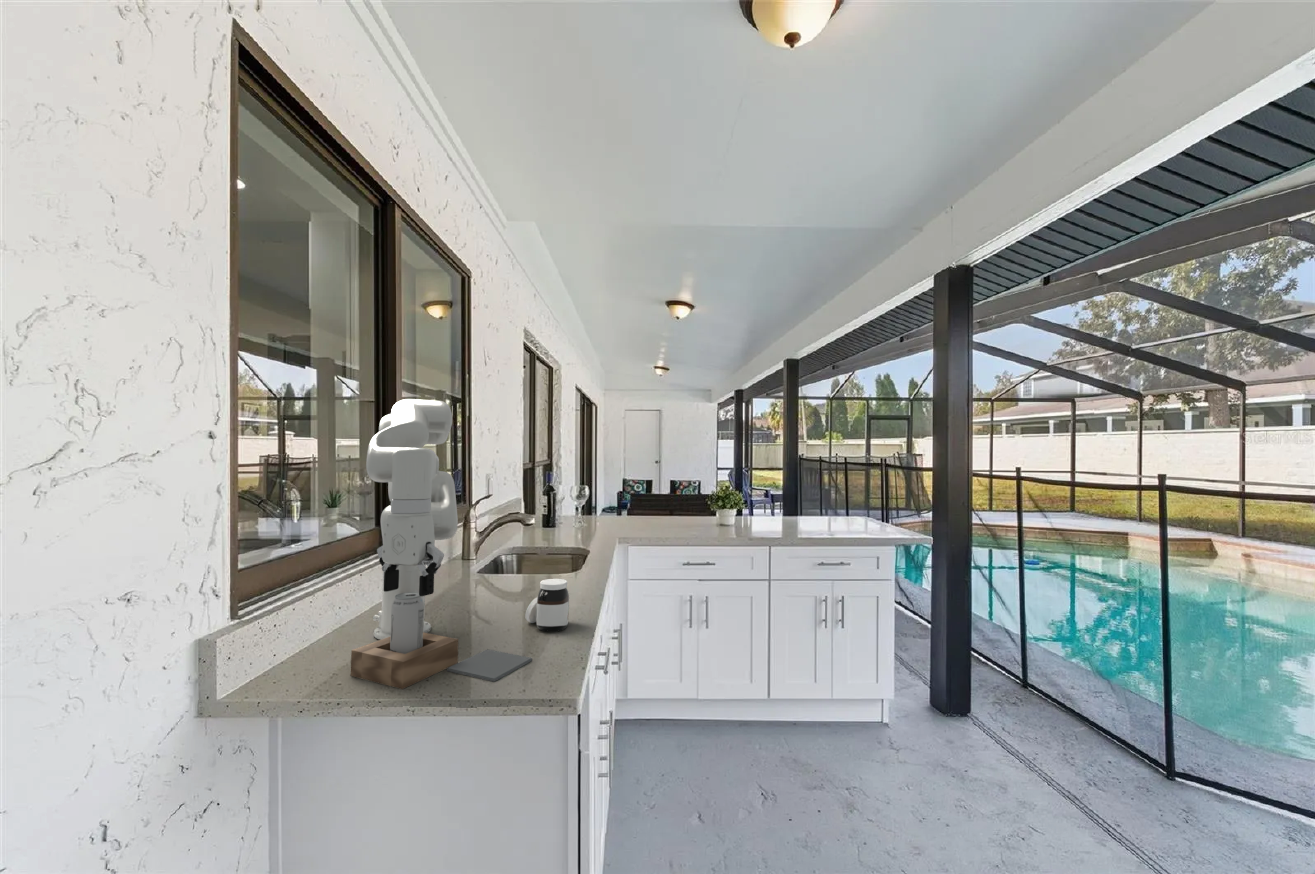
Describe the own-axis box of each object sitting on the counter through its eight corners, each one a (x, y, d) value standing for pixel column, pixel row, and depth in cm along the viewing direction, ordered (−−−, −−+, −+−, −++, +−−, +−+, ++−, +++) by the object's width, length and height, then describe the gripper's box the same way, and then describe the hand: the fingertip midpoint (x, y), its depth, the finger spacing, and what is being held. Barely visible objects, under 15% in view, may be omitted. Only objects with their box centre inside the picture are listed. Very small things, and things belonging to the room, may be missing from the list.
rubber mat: (447, 670, 110) (447, 667, 110) (487, 651, 121) (487, 649, 121) (494, 681, 105) (494, 678, 105) (531, 660, 116) (532, 657, 116)
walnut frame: (350, 675, 107) (351, 650, 107) (408, 652, 120) (409, 629, 120) (402, 689, 101) (403, 662, 102) (457, 663, 114) (458, 639, 114)
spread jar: (564, 634, 134) (565, 586, 134) (518, 633, 134) (519, 585, 135) (572, 619, 146) (573, 575, 146) (530, 618, 146) (531, 575, 147)
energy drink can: (390, 665, 112) (393, 592, 113) (422, 662, 115) (424, 590, 115) (388, 677, 107) (390, 600, 107) (421, 673, 109) (423, 597, 109)
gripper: (365, 507, 112) (362, 592, 111) (428, 510, 105) (425, 601, 104) (395, 505, 118) (393, 585, 117) (457, 508, 112) (454, 592, 111)
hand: (408, 592), depth 111 cm, fingers open, 9 cm apart
